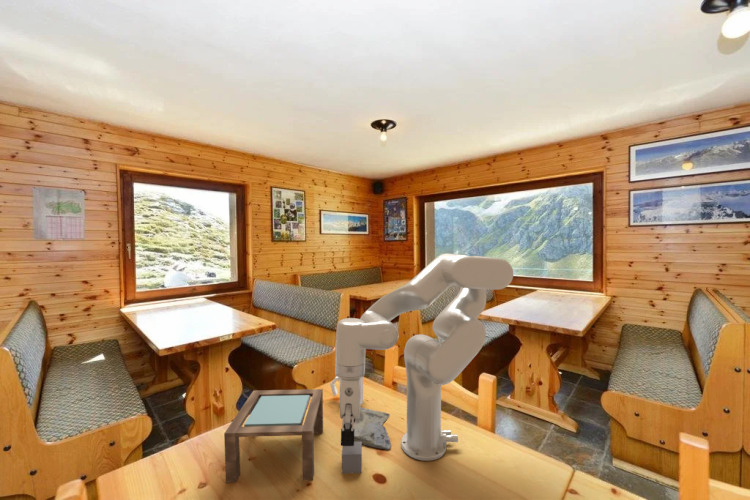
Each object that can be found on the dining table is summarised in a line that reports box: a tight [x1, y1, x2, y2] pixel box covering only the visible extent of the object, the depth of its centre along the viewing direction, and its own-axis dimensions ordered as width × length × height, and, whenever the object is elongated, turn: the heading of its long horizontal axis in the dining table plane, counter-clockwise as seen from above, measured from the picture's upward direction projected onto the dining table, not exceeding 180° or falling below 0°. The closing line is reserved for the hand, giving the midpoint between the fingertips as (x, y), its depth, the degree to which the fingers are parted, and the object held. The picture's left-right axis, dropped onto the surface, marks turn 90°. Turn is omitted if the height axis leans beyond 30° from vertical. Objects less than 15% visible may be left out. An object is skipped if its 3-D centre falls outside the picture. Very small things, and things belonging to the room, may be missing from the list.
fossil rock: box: [351, 406, 392, 451], centre depth 101 cm, size 18×15×2 cm
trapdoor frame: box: [223, 388, 324, 484], centre depth 90 cm, size 21×21×12 cm
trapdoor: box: [243, 395, 312, 427], centre depth 90 cm, size 14×14×1 cm
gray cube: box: [341, 441, 363, 474], centre depth 85 cm, size 5×5×5 cm
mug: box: [329, 376, 364, 406], centre depth 117 cm, size 12×9×10 cm
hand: (348, 433), depth 84 cm, fingers open, 9 cm apart
